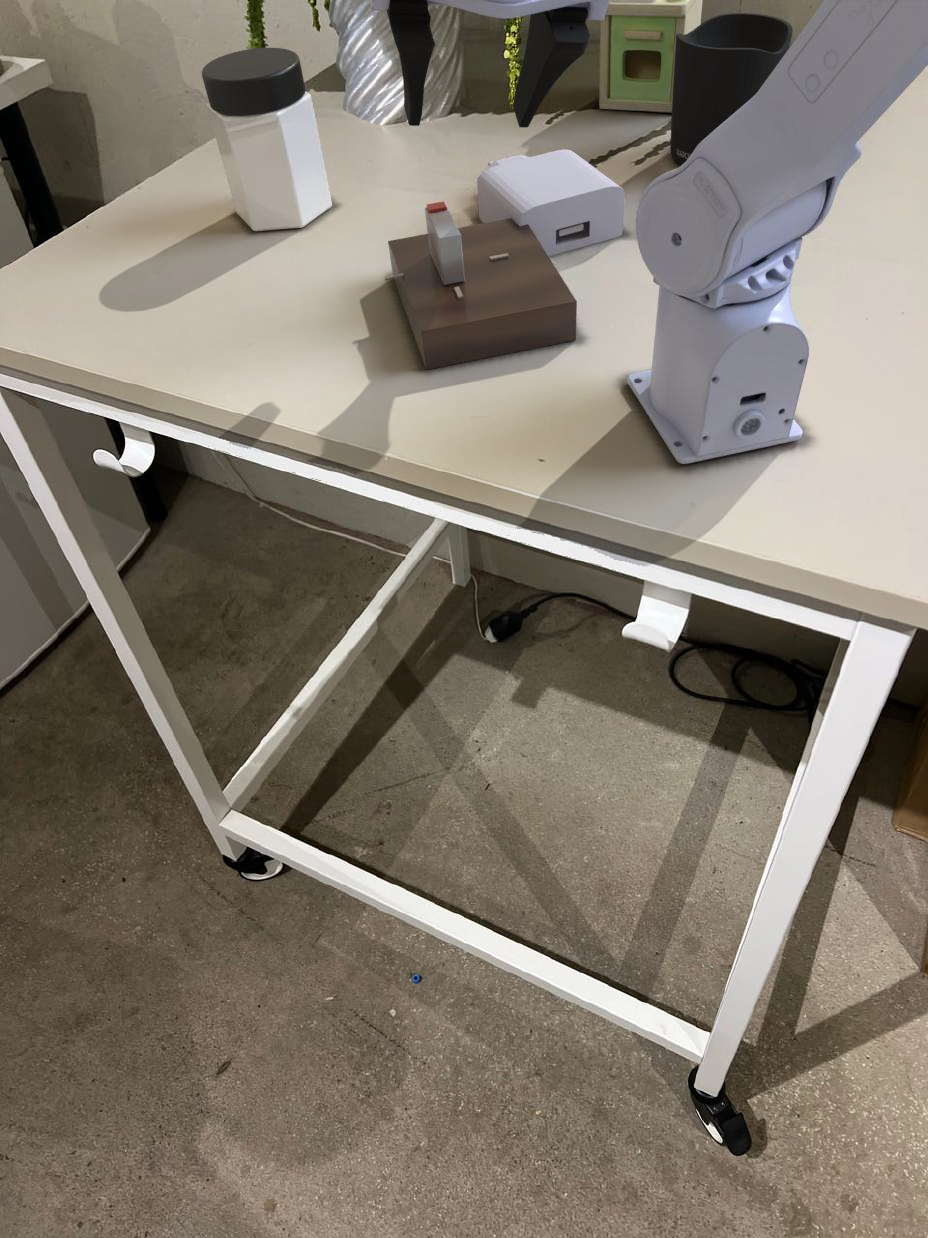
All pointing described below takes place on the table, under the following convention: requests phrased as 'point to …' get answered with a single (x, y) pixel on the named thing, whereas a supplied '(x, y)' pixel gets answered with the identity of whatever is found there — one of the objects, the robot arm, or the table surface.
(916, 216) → the table surface
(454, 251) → the block
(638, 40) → the toy kitchen stove
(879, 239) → the table surface
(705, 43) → the pen holder
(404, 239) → the brown square block base
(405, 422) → the table surface
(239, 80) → the jar
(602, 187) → the charger
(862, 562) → the table surface
